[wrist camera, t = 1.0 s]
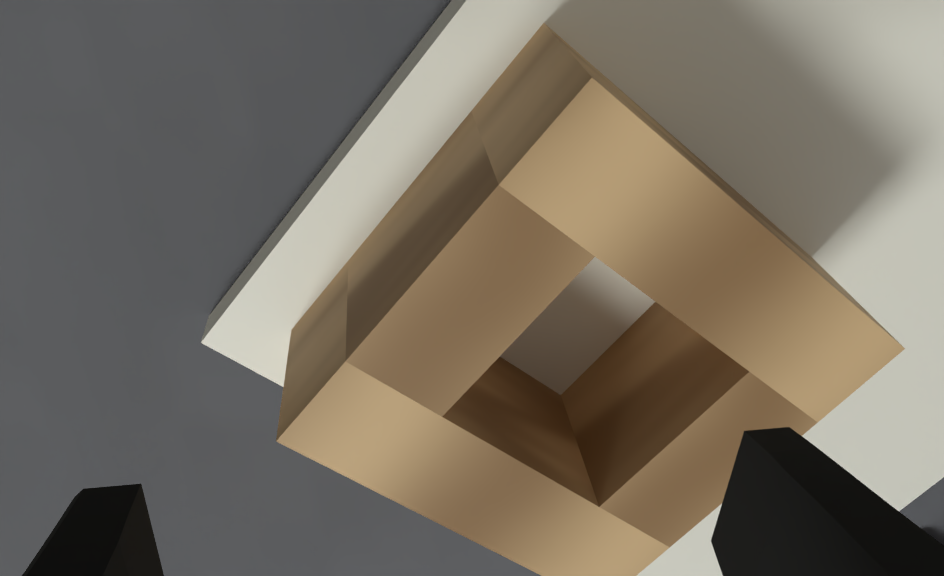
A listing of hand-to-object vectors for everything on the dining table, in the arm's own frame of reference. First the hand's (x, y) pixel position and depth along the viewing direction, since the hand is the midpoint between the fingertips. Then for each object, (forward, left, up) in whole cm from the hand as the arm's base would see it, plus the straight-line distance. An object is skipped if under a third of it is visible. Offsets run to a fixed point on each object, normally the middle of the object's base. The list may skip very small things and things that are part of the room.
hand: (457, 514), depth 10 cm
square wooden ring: (-4, 0, -9) cm, 10 cm away
